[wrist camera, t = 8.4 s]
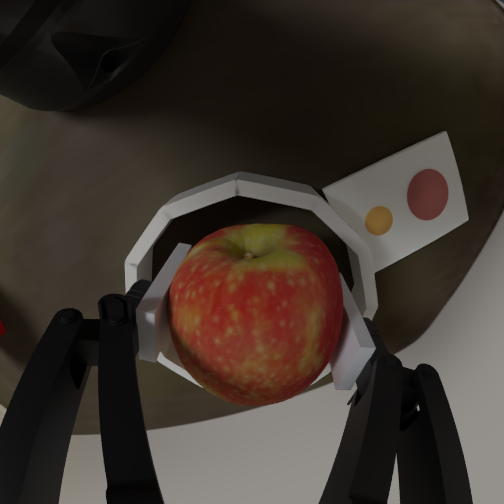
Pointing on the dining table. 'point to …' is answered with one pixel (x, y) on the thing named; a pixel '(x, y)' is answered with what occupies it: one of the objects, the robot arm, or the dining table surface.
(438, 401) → the robot arm
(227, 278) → the apple
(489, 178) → the dining table surface
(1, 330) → the puzzle toy
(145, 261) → the ring
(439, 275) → the dining table surface
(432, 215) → the card
